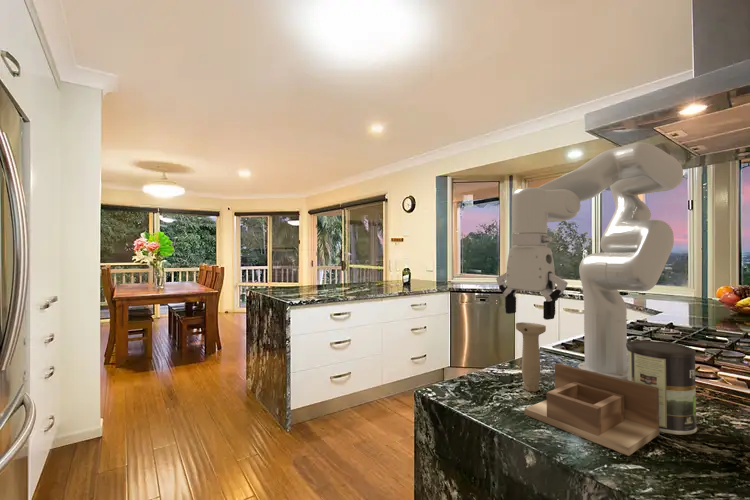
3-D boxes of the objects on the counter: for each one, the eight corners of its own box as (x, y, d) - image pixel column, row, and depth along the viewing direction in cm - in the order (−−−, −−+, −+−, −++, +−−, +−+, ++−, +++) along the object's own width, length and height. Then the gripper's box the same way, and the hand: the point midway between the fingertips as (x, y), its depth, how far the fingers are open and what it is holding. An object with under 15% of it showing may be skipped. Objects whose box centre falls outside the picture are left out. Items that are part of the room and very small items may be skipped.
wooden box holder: (558, 400, 79) (557, 363, 79) (659, 434, 64) (658, 388, 64) (524, 414, 72) (524, 373, 72) (628, 455, 57) (628, 404, 57)
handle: (540, 396, 81) (539, 328, 81) (512, 388, 86) (512, 324, 86) (549, 391, 84) (549, 325, 85) (522, 383, 89) (522, 321, 89)
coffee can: (690, 417, 70) (689, 343, 71) (703, 441, 62) (701, 356, 62) (625, 406, 76) (624, 337, 76) (628, 426, 67) (627, 348, 67)
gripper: (575, 241, 80) (575, 320, 80) (507, 243, 95) (507, 310, 94) (556, 240, 76) (556, 323, 76) (488, 242, 91) (487, 312, 90)
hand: (528, 316), depth 85 cm, fingers open, 9 cm apart
